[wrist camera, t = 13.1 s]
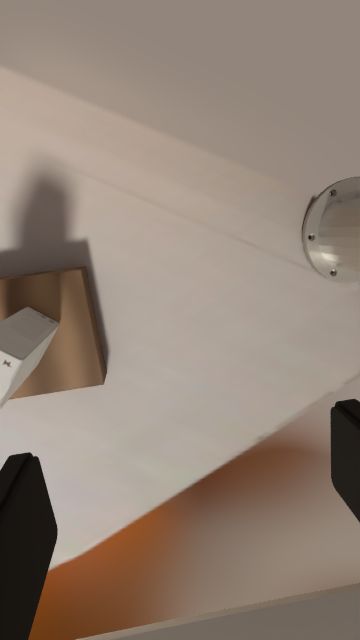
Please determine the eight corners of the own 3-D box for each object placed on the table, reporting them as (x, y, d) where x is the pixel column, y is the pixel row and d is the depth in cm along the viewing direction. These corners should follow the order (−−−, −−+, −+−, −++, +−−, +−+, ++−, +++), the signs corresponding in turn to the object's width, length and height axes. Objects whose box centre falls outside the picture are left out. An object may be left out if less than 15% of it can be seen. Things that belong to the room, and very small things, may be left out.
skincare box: (26, 304, 38) (-30, 331, 27) (63, 324, 39) (24, 357, 27) (3, 351, 39) (-62, 396, 28) (39, 368, 40) (-9, 420, 28)
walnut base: (86, 266, 42) (80, 269, 38) (107, 371, 46) (103, 384, 42) (-32, 282, 41) (-50, 287, 37) (-1, 388, 45) (-15, 403, 41)
